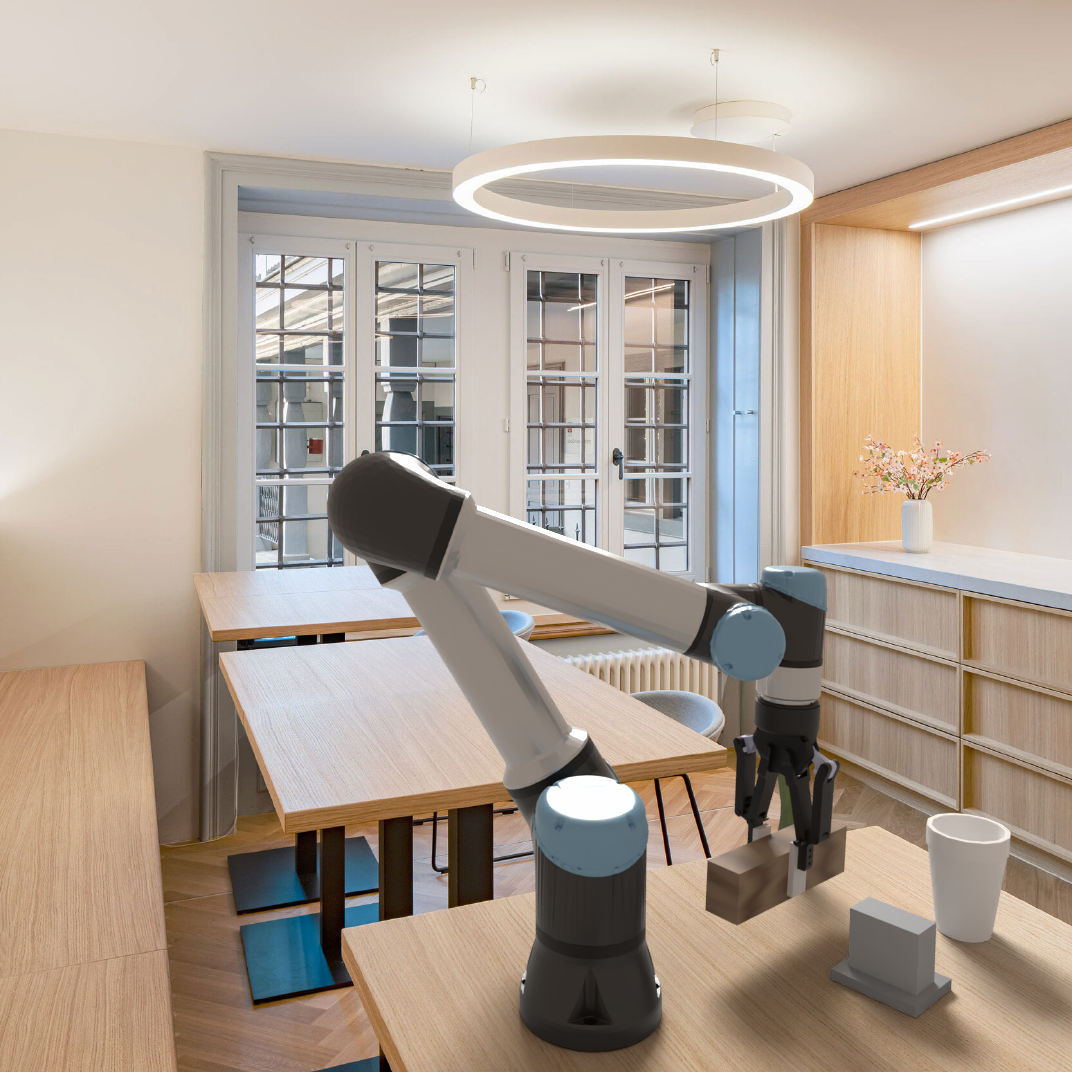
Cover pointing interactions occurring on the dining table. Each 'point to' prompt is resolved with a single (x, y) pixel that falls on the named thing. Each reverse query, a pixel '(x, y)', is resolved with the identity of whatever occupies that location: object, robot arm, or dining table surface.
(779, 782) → the vegetable
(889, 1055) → the dining table surface
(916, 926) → the grey stepped block
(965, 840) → the foam cup
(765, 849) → the bar
